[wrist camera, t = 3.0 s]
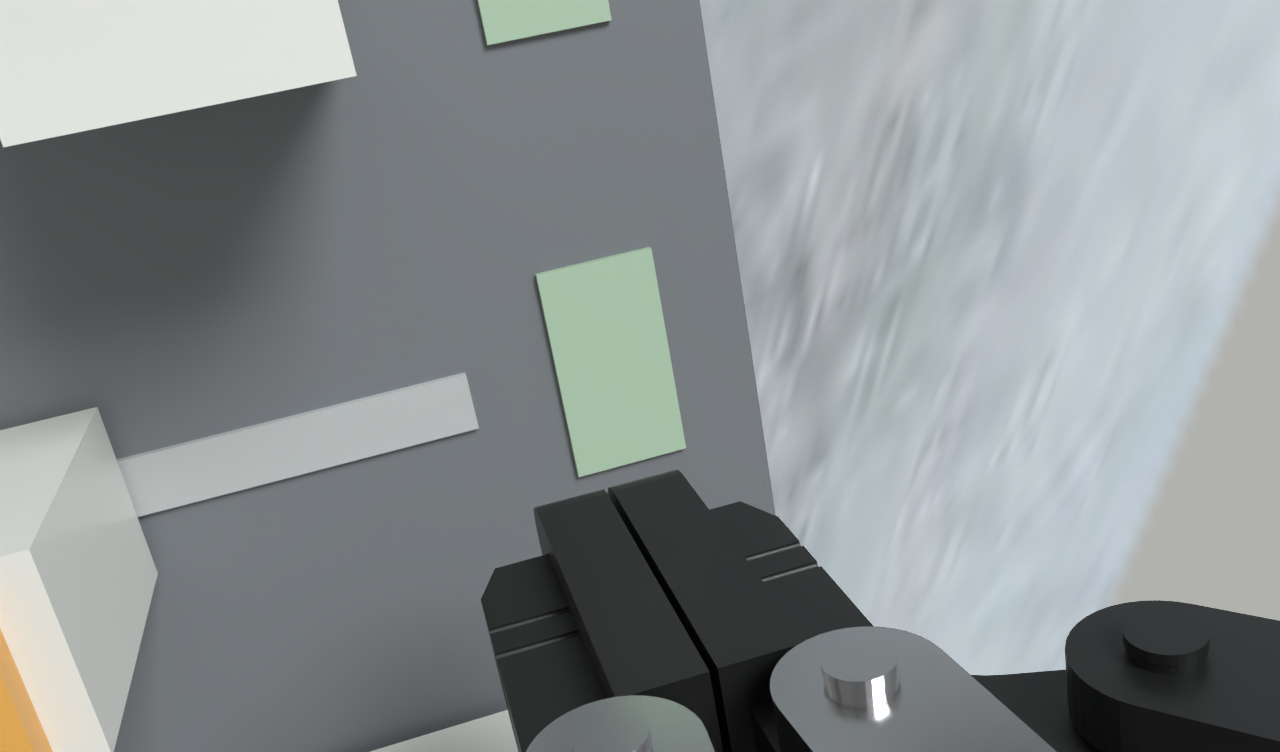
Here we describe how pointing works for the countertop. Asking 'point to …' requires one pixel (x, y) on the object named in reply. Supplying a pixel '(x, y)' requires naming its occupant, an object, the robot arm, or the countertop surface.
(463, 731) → the breaker
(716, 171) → the grey flat slab
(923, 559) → the countertop surface
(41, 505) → the block
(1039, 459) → the countertop surface
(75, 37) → the block
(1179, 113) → the countertop surface
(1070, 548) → the countertop surface
